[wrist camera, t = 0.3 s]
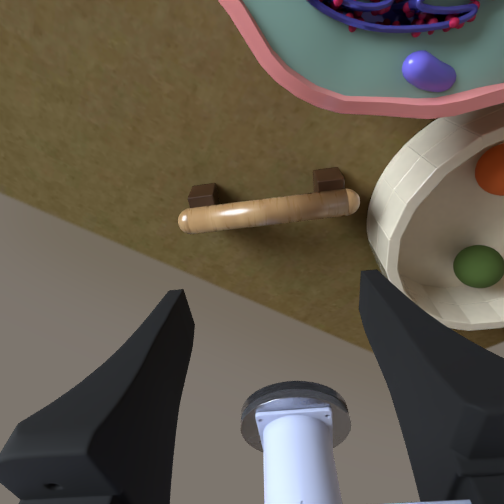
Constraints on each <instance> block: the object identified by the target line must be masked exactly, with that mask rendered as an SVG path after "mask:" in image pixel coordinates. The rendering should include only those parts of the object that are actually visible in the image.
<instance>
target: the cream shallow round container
mask: <svg viewBox="0 0 504 504" xmlns="http://www.w3.org/2000/svg"><path fill="white" fill-rule="evenodd" d="M502 143H504V103H501V104H497V105H493V106H490V107H486V108H482V109H478V110H475V111H471V112H467V113H464V114H460V115H456V116H450V117H441V118H438V119H436V120H435V121H433V122H432V123H430V124H429V125H428V126H426V127H425V128H424V129H422V130H421V131H419V132H418V133H417V134H416V135H415V136H414V137H413V138H412V139H410V140H409V141H408V142H407V143H406V144H405V145H404V146H403V147H402V148H401V149H400V151H399V152H398V153H397V154H396V155H395V156H394V157H393V159H392V160H391V162H390V163H389V164H388V166H387V167H386V168H385V170H384V172H383V173H382V175H381V177H380V179H379V180H378V182H377V184H376V187H375V189H374V192H373V194H372V197H371V200H370V204H369V208H368V214H367V235H368V240H369V244H370V247H371V250H372V252H373V254H374V257H375V259H376V262H377V264H378V266H379V268H380V270H381V272H382V274H383V275H384V276H385V277H386V278H387V279H388V280H389V281H390V282H391V283H392V284H393V285H395V286H396V287H397V288H398V289H399V290H400V291H401V292H402V293H404V294H405V295H406V296H407V297H408V298H409V299H411V300H412V301H413V302H414V303H415V304H417V305H418V306H419V307H420V308H422V309H423V310H424V311H426V312H427V313H428V314H430V315H431V316H432V317H434V318H435V319H436V320H438V321H439V322H441V323H442V324H444V325H445V326H447V327H448V328H452V329H460V330H468V331H472V330H483V329H495V328H502V327H503V328H504V275H503V277H502V278H501V280H500V281H499V282H497V283H496V284H494V285H493V286H490V287H487V288H473V287H470V286H467V285H465V284H463V283H462V282H461V281H460V280H459V279H458V278H457V277H456V275H455V273H454V270H453V262H454V259H455V257H456V255H457V254H458V253H459V252H460V251H461V250H463V249H464V248H466V247H469V246H472V245H485V246H488V247H491V248H493V249H495V250H496V251H497V252H499V253H500V255H501V256H502V257H503V259H504V196H499V195H493V194H490V193H488V192H486V191H484V190H483V189H482V188H481V187H480V186H479V185H478V183H477V181H476V178H475V168H476V164H477V162H478V160H479V159H480V157H481V156H482V155H483V154H484V153H485V152H486V151H487V150H489V149H490V148H492V147H494V146H496V145H499V144H502Z"/></svg>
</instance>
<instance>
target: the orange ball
mask: <svg viewBox="0 0 504 504" xmlns="http://www.w3.org/2000/svg"><path fill="white" fill-rule="evenodd" d="M475 178H476V181H477V183H478V185H479V186H480V187H481V188H482V189H483V190H484V191H486V192H488V193H490V194H493V195H499V196H504V143H502V144H499V145H496V146H494V147H492V148H490V149H489V150H487V151H486V152H485V153H484V154H483V155H482V156H481V157H480V159H479V160H478V162H477V164H476V168H475Z"/></svg>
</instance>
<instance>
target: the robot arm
mask: <svg viewBox="0 0 504 504" xmlns="http://www.w3.org/2000/svg"><path fill="white" fill-rule="evenodd" d="M359 311H360V315H361V319H362V322H363V326H364V329H365V333H366V335H367V337H368V340H369V342H370V345H371V347H372V349H373V352H374V354H375V357H376V359H377V361H378V364H379V366H380V368H381V371H382V373H383V375H384V378H385V380H386V383H387V385H388V388H389V391H390V393H391V397H392V400H393V403H394V407H395V410H396V413H397V416H398V420H399V423H400V427H401V430H402V434H403V437H404V440H405V444H406V448H407V451H408V455H409V459H410V462H411V466H412V470H413V473H414V477H415V482H416V485H417V489H418V493H419V497H420V501H421V502H407V503H388V504H504V358H502V357H500V356H498V355H496V354H494V353H492V352H490V351H488V350H486V349H484V348H482V347H481V346H479V345H477V344H475V343H473V342H471V341H470V340H468V339H466V338H465V337H463V336H461V335H459V334H458V333H456V332H455V331H453V330H452V329H450V328H448V327H447V326H445V325H444V324H442V323H441V322H439V321H438V320H436V319H435V318H434V317H432V316H431V315H430V314H428V313H427V312H426V311H424V310H423V309H422V308H420V307H419V306H418V305H417V304H415V303H414V302H413V301H412V300H411V299H409V298H408V297H407V296H406V295H405V294H404V293H402V292H401V291H400V290H399V289H398V288H397V287H396V286H395V285H393V284H392V283H391V282H390V281H389V280H388V279H387V278H386V277H385V276H384V275H383V274H381V273H380V272H379V271H378V270H377V269H376V270H367V271H361V281H360V300H359ZM194 327H195V324H194V321H193V318H192V315H191V312H190V308H189V305H188V302H187V299H186V296H185V293H184V290H183V289H181V290H170V291H168V293H167V294H166V295H165V296H164V298H163V299H162V300H161V301H160V302H159V304H158V305H157V306H156V308H155V309H154V310H153V311H152V313H151V314H150V315H149V316H148V317H147V318H146V320H145V321H144V322H143V324H141V326H140V327H139V328H138V329H137V330H136V331H135V332H134V333H133V335H132V336H131V337H130V338H129V339H128V340H127V341H126V342H125V343H124V344H123V345H122V346H121V347H120V349H119V350H117V351H116V352H115V353H114V354H113V355H112V356H111V357H110V358H109V359H108V360H107V361H106V362H105V363H103V364H102V365H101V366H100V367H99V368H97V369H96V370H95V371H94V372H93V373H91V374H90V375H89V376H88V377H86V378H85V379H84V380H83V381H82V382H80V383H79V384H78V385H76V386H75V387H74V388H72V389H71V390H70V391H68V392H67V393H65V394H64V395H62V396H61V397H59V398H58V399H57V400H55V401H54V402H52V403H51V404H49V405H48V406H46V407H44V408H43V409H41V410H40V411H38V412H36V413H35V414H33V415H31V416H30V417H28V418H27V419H25V420H23V421H22V422H20V423H18V425H17V426H16V428H15V429H14V431H13V433H12V434H11V436H10V438H9V439H8V441H7V443H6V444H5V446H4V448H3V450H2V451H1V453H0V483H1V484H2V485H4V486H5V487H6V488H7V489H8V490H10V491H11V492H12V493H13V494H14V495H16V496H17V497H18V498H19V499H20V502H19V504H170V489H171V478H172V465H173V455H174V446H175V436H176V427H177V420H178V412H179V405H180V400H181V395H182V391H183V387H184V382H185V378H186V374H187V370H188V365H189V361H190V357H191V352H192V347H193V339H194ZM255 418H256V422H257V426H258V431H259V435H260V439H261V443H262V447H263V452H264V500H265V501H264V503H265V504H342V499H341V493H340V488H339V483H338V477H337V472H336V466H335V461H334V456H333V419H332V409H331V408H329V407H322V408H308V409H294V410H280V411H267V412H258V413H256V415H255Z"/></svg>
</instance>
